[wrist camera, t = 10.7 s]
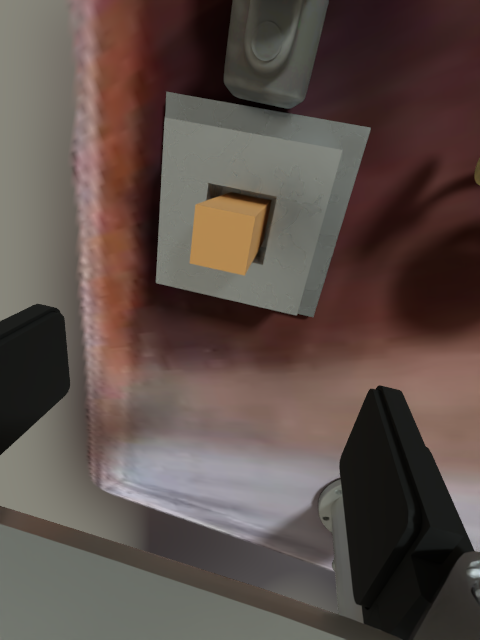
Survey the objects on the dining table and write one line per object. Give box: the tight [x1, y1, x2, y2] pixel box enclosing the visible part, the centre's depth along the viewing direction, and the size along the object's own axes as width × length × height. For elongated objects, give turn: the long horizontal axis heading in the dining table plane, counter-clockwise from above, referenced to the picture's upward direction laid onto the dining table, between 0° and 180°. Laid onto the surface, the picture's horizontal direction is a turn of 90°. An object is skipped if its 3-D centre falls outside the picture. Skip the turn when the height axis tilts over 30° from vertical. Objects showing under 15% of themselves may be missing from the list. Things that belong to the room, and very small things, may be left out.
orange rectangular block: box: [190, 192, 271, 276], centre depth 24 cm, size 4×4×10 cm
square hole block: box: [156, 92, 371, 317], centre depth 27 cm, size 16×16×6 cm
